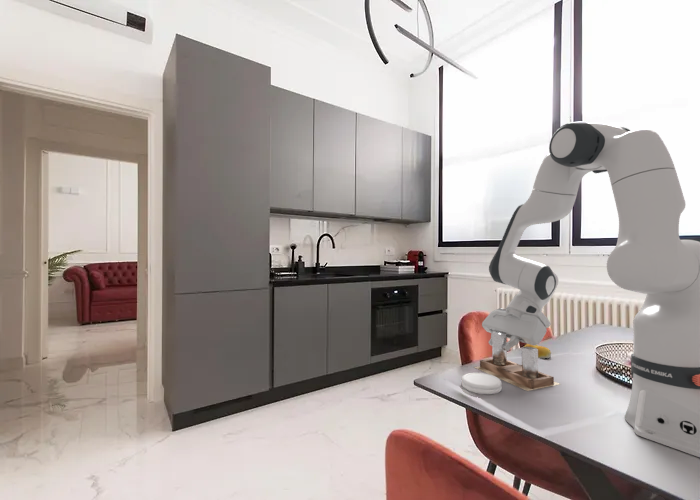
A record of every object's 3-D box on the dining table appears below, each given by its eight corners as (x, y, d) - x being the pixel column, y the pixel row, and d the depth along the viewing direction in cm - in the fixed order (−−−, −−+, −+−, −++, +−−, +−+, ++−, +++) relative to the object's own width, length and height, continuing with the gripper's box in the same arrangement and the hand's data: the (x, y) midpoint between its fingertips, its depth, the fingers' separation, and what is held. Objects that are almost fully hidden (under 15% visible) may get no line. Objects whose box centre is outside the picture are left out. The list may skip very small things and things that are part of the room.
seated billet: (541, 382, 95) (541, 349, 95) (530, 385, 94) (530, 351, 94) (529, 378, 99) (529, 346, 99) (518, 380, 98) (518, 347, 98)
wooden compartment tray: (560, 387, 95) (560, 376, 95) (527, 394, 90) (527, 383, 90) (503, 365, 113) (503, 356, 113) (473, 370, 109) (473, 360, 109)
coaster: (506, 400, 87) (505, 386, 87) (464, 398, 89) (463, 384, 89) (497, 385, 97) (497, 373, 97) (459, 383, 99) (459, 371, 99)
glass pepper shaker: (509, 364, 106) (509, 334, 106) (499, 365, 104) (499, 335, 104) (499, 360, 110) (499, 331, 110) (489, 361, 108) (489, 332, 108)
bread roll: (543, 361, 118) (543, 349, 118) (518, 354, 125) (518, 343, 125) (556, 356, 123) (556, 345, 123) (531, 350, 130) (531, 340, 130)
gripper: (491, 301, 119) (468, 333, 116) (544, 310, 100) (518, 349, 97) (502, 313, 121) (479, 345, 117) (556, 325, 102) (531, 363, 98)
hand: (497, 347), depth 107 cm, fingers closed on glass pepper shaker, 4 cm apart
